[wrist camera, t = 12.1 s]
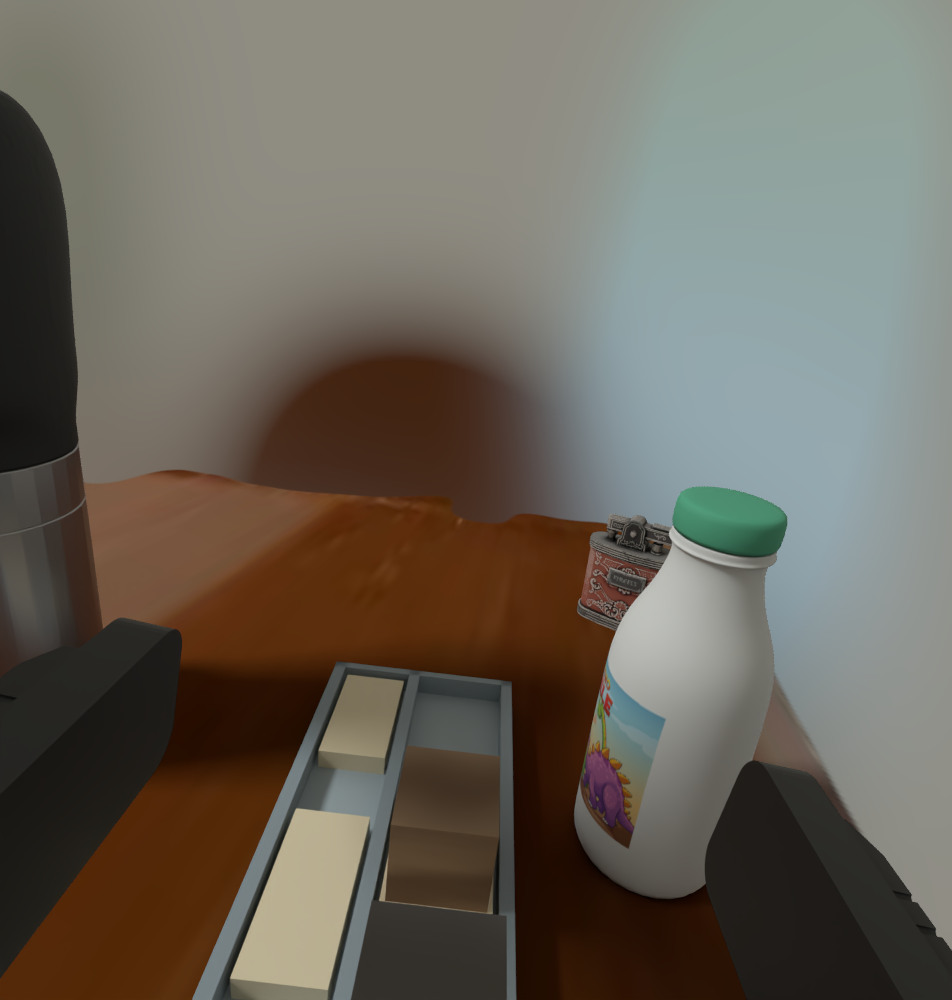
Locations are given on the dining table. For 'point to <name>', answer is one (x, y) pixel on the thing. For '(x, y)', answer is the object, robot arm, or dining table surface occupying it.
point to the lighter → (621, 567)
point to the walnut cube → (444, 830)
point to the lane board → (352, 831)
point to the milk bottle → (682, 697)
